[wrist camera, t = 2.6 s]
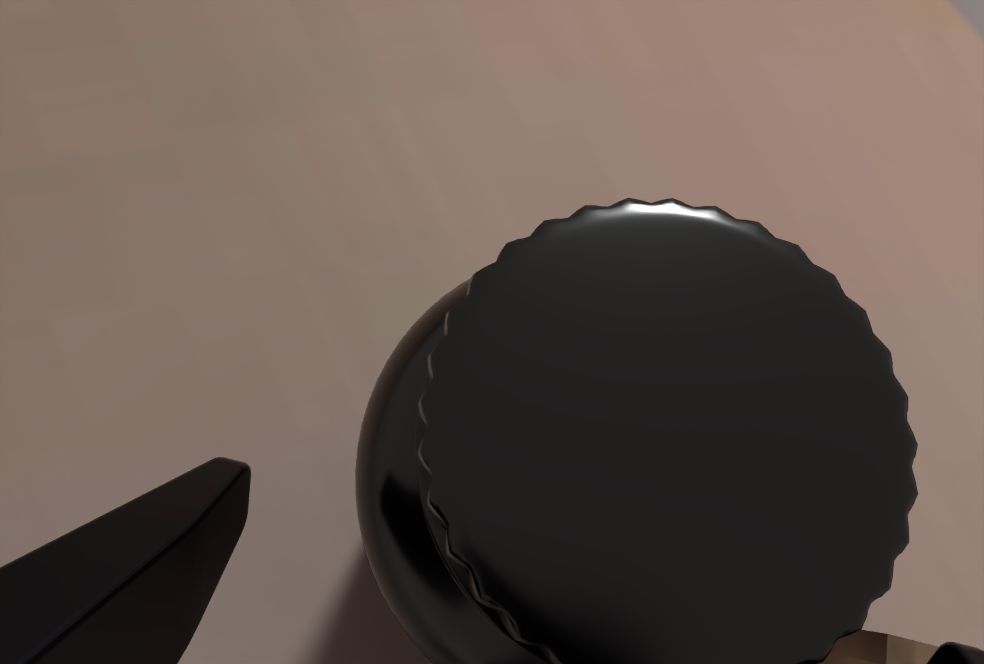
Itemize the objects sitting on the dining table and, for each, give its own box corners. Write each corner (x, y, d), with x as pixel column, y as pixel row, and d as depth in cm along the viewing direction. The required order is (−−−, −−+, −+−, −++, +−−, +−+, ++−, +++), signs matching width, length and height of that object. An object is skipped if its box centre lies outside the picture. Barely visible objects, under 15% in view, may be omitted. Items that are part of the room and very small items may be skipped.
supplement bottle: (478, 330, 19) (540, -1, 8) (701, 458, 19) (1119, 297, 7) (336, 561, 17) (143, 561, 6) (583, 713, 17) (908, 1045, 5)
